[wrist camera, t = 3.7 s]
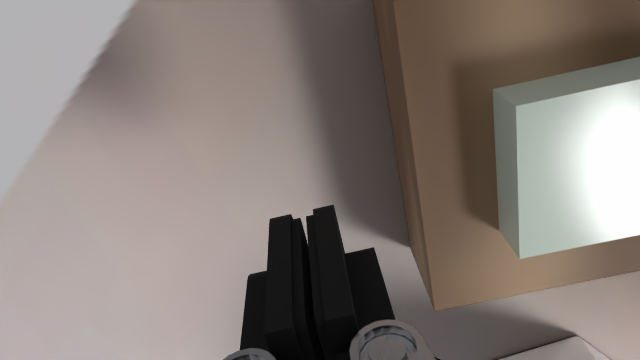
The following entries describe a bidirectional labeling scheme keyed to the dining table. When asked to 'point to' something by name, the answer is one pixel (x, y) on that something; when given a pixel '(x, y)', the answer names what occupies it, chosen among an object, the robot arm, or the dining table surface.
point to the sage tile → (569, 158)
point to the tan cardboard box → (486, 131)
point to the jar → (561, 351)
